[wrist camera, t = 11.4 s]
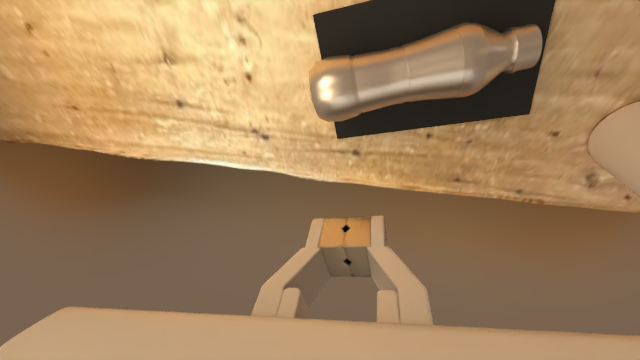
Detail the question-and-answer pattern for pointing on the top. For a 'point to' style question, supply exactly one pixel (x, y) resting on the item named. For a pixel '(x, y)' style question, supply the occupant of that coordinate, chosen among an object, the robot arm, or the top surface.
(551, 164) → the top surface
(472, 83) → the plastic bottle
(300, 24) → the top surface
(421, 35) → the mat
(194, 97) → the top surface
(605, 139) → the pill bottle
